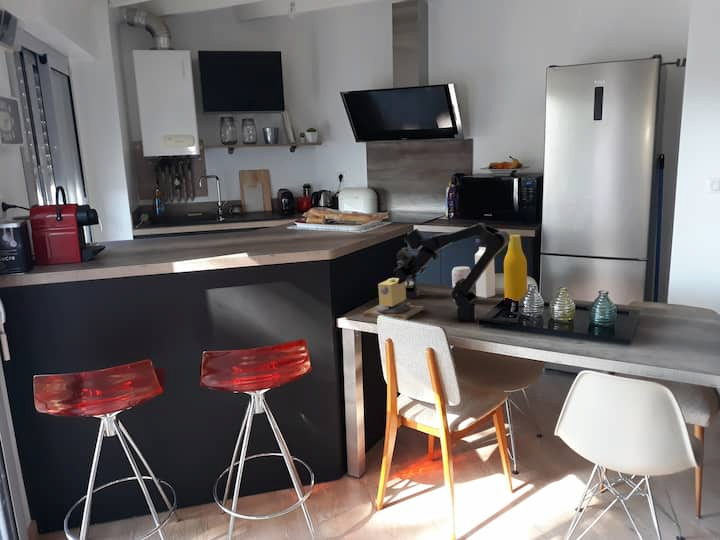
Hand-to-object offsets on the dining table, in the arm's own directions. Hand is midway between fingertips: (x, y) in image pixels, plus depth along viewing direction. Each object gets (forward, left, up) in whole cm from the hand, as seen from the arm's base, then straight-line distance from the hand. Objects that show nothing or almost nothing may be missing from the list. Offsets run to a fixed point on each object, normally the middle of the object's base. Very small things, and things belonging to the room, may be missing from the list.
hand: (398, 283), depth 235 cm
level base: (+3, -1, -13) cm, 13 cm away
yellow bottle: (-44, -20, -13) cm, 50 cm away
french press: (+6, -28, -13) cm, 31 cm away
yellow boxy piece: (+3, -1, -9) cm, 10 cm away
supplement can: (-21, -22, -13) cm, 33 cm away
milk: (-29, -33, -13) cm, 46 cm away
